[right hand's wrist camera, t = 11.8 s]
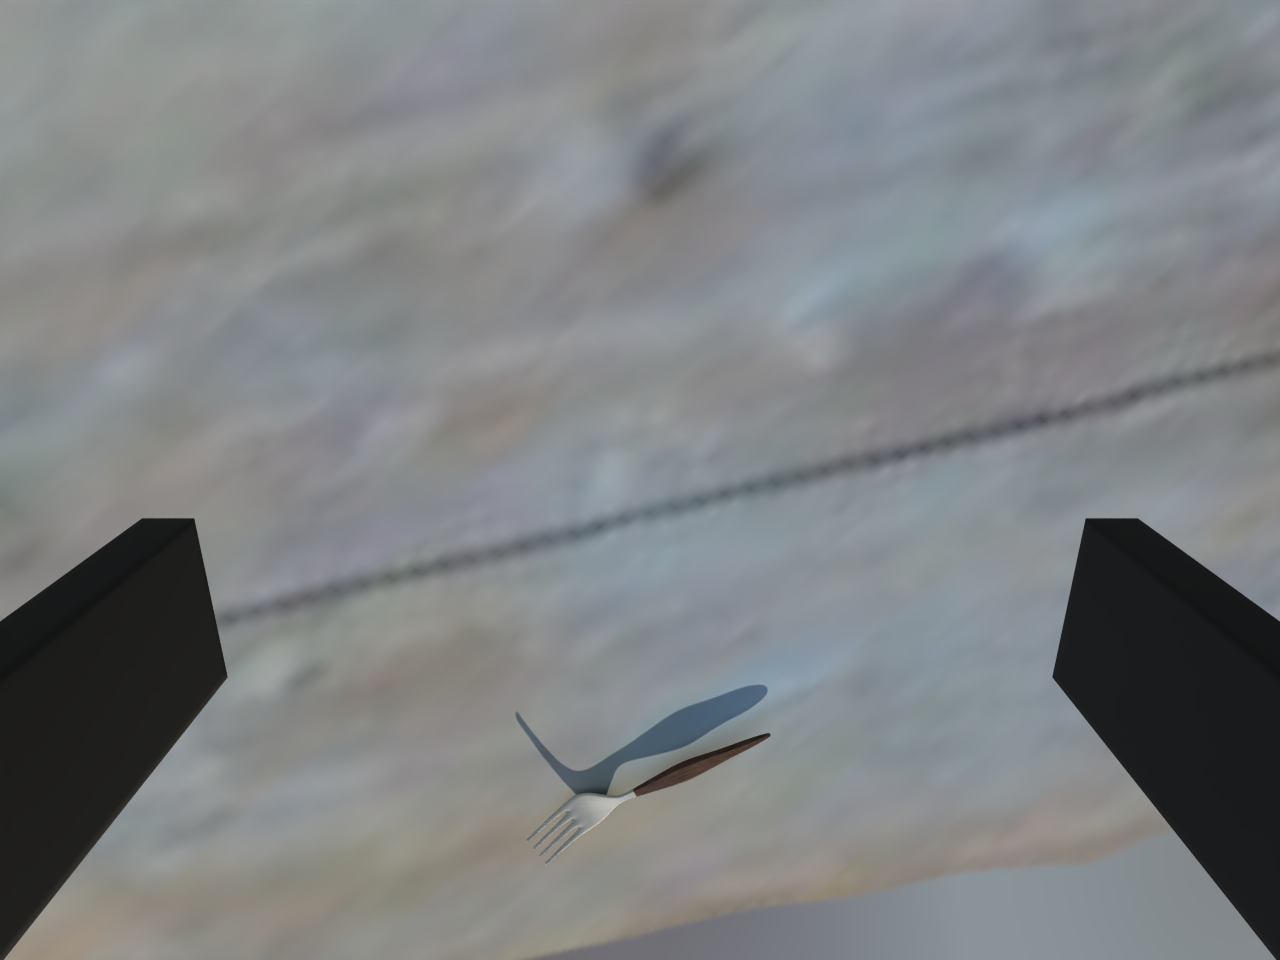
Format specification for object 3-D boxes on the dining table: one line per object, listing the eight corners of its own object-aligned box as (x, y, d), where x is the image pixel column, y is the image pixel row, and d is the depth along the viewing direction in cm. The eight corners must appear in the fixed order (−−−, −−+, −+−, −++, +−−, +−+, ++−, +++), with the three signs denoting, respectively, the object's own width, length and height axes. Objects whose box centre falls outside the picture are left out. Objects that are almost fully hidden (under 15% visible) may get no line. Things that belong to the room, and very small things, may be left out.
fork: (778, 744, 50) (783, 767, 48) (550, 842, 53) (547, 867, 51) (759, 712, 49) (764, 734, 48) (528, 814, 52) (524, 838, 50)
